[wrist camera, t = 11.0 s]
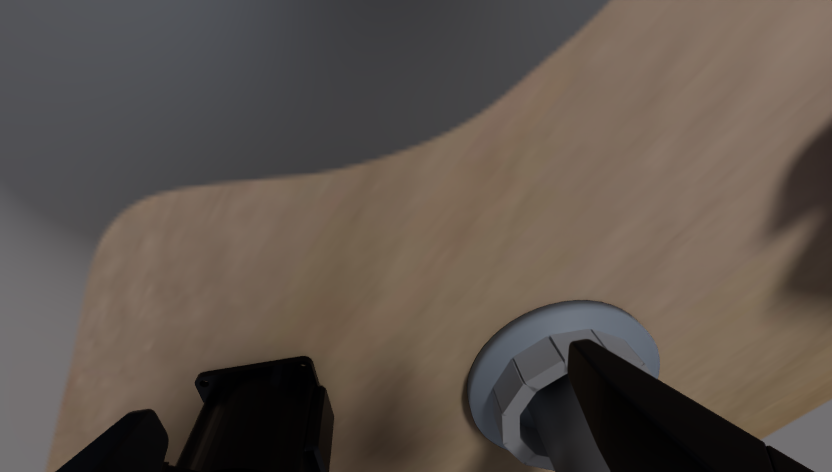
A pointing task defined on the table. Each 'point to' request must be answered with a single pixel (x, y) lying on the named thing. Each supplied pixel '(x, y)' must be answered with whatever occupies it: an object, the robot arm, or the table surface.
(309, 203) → the table surface
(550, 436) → the grey domed cylinder
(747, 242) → the table surface
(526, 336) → the ring
